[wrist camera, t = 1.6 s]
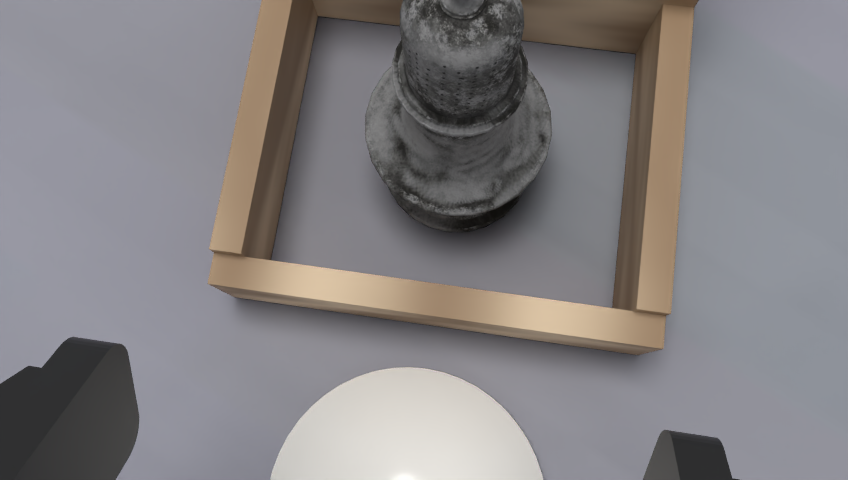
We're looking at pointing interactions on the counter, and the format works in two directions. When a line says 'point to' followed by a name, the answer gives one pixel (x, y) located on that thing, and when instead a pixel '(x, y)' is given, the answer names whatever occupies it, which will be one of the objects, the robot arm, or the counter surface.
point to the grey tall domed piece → (458, 114)
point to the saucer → (406, 433)
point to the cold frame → (451, 305)
